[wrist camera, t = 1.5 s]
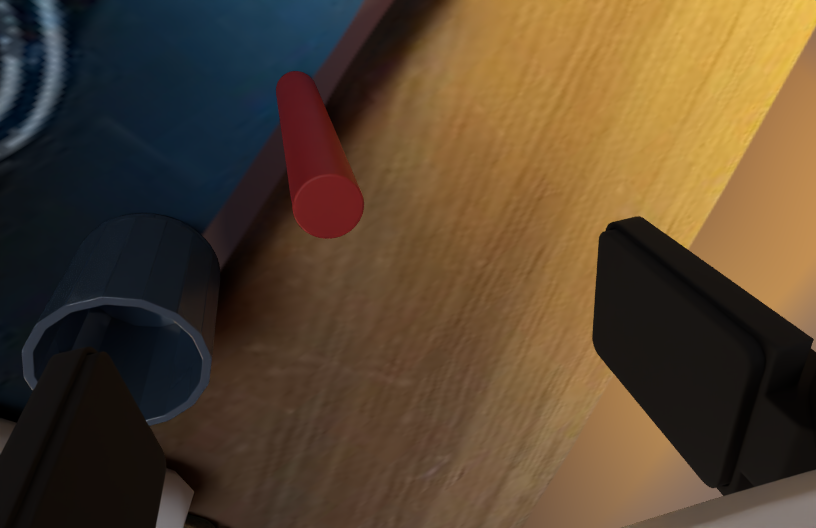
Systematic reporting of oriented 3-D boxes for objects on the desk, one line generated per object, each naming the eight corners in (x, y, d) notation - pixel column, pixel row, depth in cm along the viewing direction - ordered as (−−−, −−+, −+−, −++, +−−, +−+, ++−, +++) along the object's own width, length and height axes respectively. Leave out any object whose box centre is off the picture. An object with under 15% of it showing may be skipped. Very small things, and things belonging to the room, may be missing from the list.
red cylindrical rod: (271, 74, 26) (284, 182, 14) (312, 67, 26) (357, 167, 15) (281, 115, 27) (302, 246, 15) (320, 107, 27) (369, 230, 16)
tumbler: (51, 230, 27) (-16, 323, 21) (195, 199, 28) (177, 279, 22) (111, 338, 31) (71, 446, 24) (236, 308, 32) (231, 404, 25)
